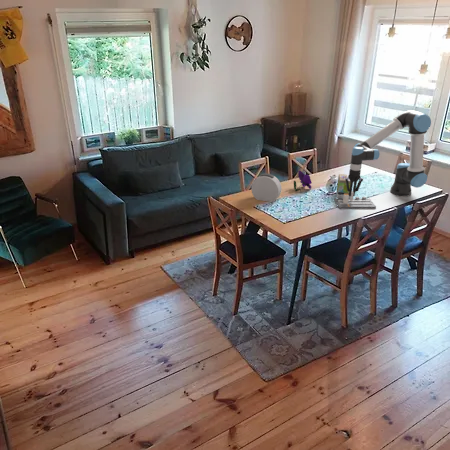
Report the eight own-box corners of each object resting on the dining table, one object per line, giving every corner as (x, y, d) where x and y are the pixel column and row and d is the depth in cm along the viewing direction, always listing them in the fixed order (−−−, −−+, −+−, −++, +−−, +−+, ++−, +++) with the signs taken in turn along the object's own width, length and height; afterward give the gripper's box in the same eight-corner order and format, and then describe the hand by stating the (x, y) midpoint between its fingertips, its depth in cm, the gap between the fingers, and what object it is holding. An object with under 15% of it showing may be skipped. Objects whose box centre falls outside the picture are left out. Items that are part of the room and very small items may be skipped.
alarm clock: (281, 199, 318) (282, 174, 309) (277, 203, 312) (279, 177, 303) (254, 195, 326) (255, 170, 317) (251, 198, 320) (251, 173, 311)
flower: (304, 199, 331) (315, 188, 334) (298, 185, 322) (310, 174, 325) (291, 193, 342) (302, 183, 345) (285, 180, 332) (297, 169, 336)
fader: (346, 201, 309) (348, 192, 306) (348, 203, 306) (349, 194, 303) (342, 201, 309) (343, 192, 306) (343, 203, 306) (344, 194, 303)
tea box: (350, 199, 317) (353, 181, 310) (336, 198, 319) (339, 180, 312) (349, 192, 330) (351, 174, 324) (336, 191, 332) (338, 173, 325)
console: (369, 200, 315) (370, 196, 313) (375, 208, 301) (376, 204, 300) (334, 200, 315) (335, 196, 314) (339, 208, 301) (339, 204, 300)
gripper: (363, 167, 299) (358, 198, 310) (344, 167, 300) (340, 198, 310) (366, 170, 293) (361, 202, 303) (347, 170, 293) (343, 202, 303)
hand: (351, 200), depth 306 cm, fingers closed
